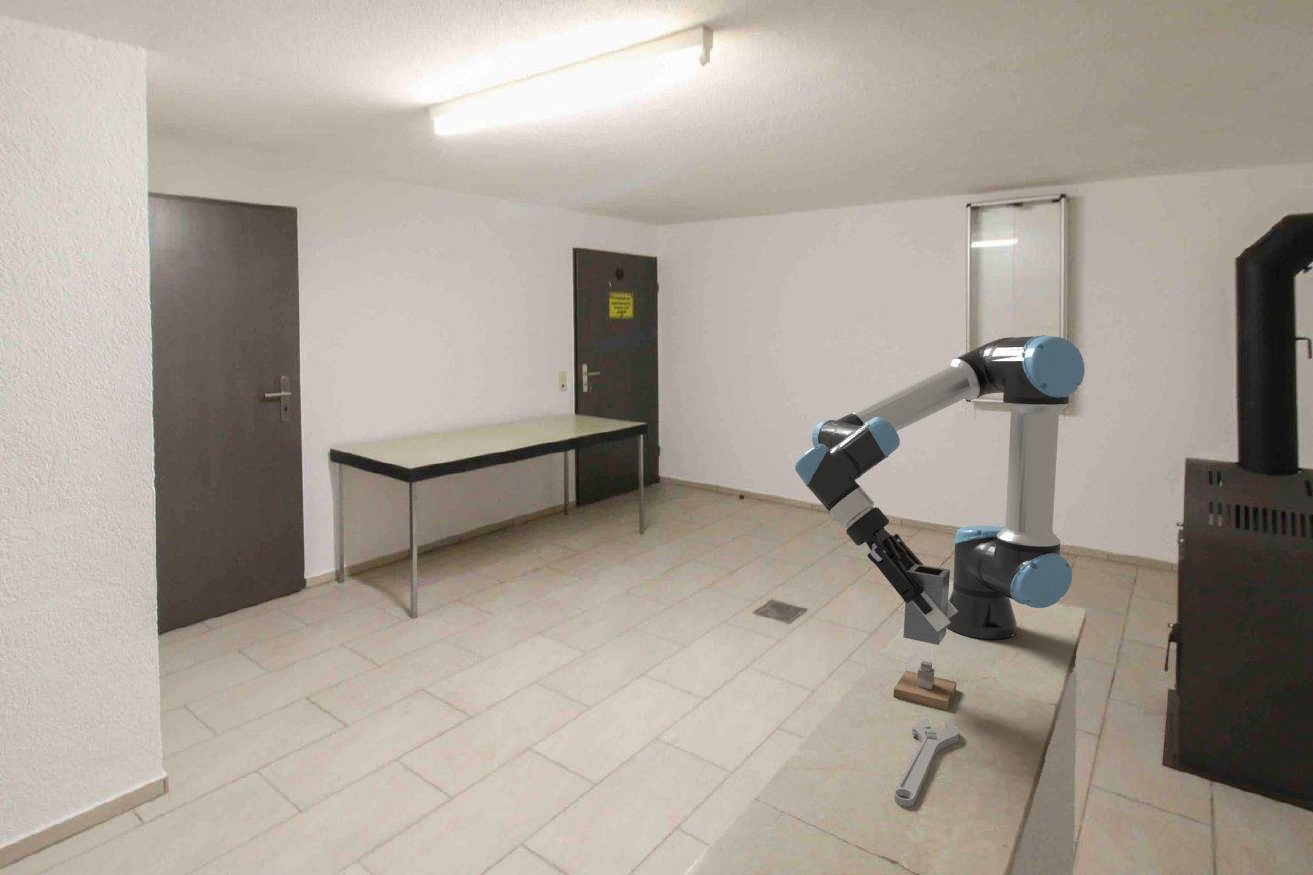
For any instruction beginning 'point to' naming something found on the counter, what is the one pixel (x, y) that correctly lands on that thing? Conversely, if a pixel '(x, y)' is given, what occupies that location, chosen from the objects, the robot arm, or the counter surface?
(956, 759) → the counter surface
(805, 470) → the robot arm
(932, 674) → the drive block
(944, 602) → the grey square tube
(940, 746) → the adjustable wrench
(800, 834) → the counter surface
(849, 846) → the counter surface
